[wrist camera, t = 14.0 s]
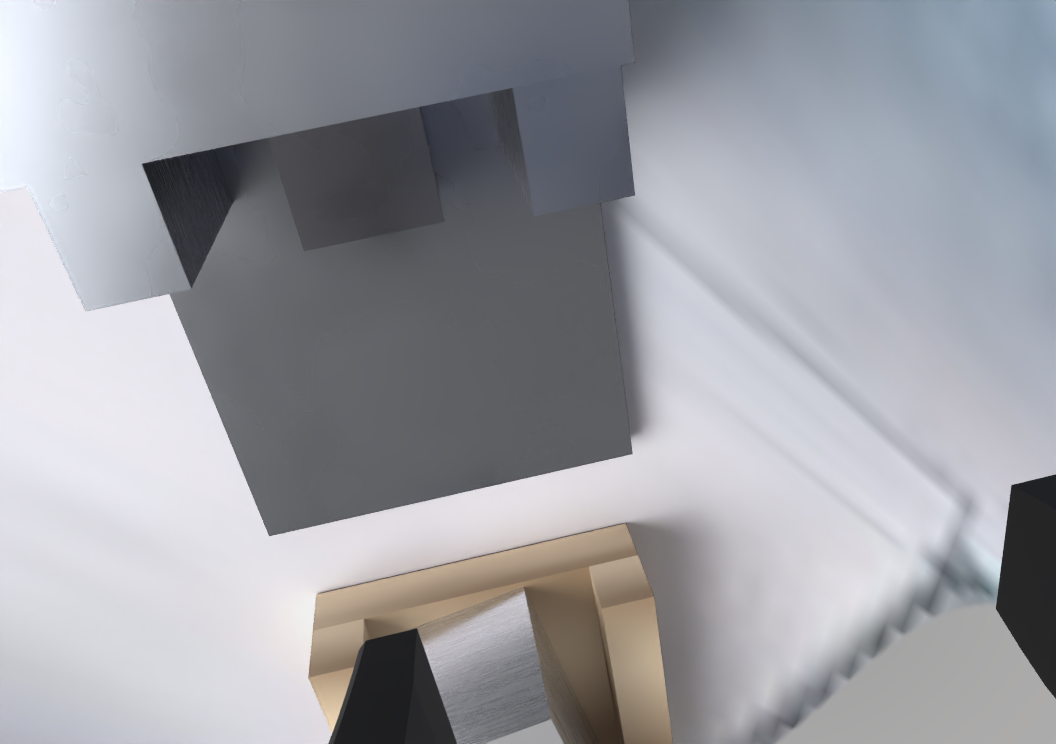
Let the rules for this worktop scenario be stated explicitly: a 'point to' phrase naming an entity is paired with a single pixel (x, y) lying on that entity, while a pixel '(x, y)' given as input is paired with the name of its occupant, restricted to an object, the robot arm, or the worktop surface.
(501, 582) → the rack
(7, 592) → the worktop surface
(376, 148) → the dark gray rectangular block
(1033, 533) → the robot arm
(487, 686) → the tall gray pillar
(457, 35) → the socket
